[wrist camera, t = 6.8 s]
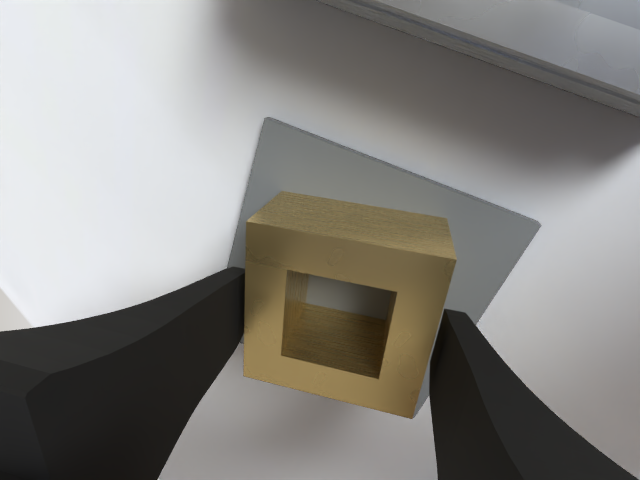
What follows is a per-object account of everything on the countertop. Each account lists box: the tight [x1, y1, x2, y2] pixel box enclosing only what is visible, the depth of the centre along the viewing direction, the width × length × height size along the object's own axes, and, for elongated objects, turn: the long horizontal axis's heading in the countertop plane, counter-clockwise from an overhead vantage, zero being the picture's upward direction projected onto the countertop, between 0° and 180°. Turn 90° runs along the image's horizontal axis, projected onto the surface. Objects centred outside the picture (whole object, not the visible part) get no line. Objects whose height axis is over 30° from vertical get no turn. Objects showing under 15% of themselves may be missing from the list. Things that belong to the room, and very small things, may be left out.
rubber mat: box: [227, 117, 541, 418], centre depth 14 cm, size 9×9×1 cm
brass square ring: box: [243, 191, 457, 419], centre depth 12 cm, size 5×5×3 cm
